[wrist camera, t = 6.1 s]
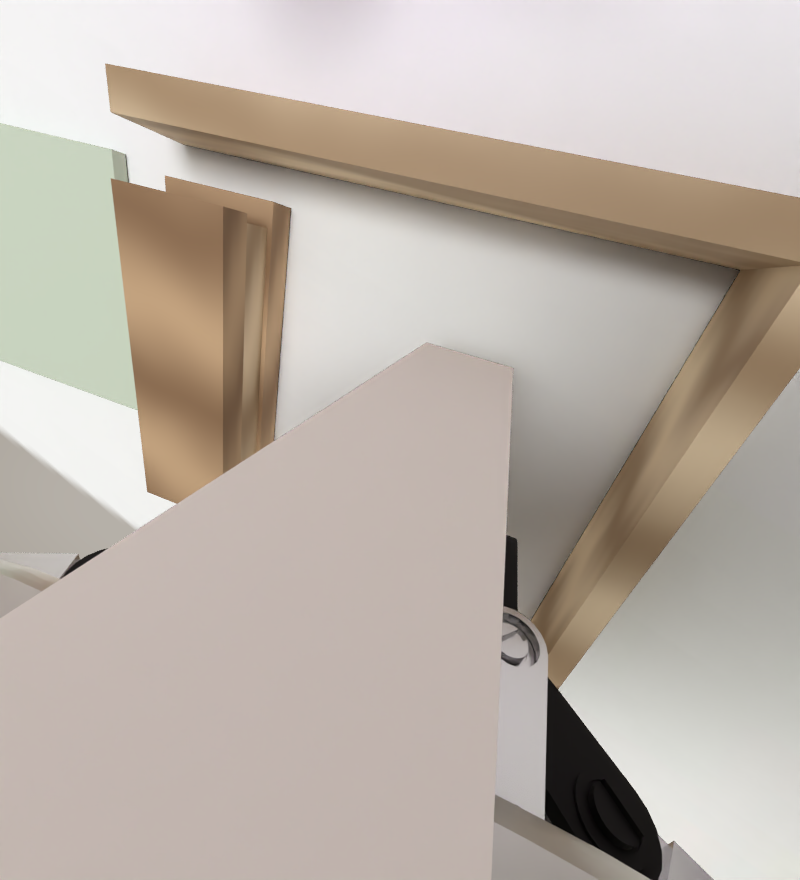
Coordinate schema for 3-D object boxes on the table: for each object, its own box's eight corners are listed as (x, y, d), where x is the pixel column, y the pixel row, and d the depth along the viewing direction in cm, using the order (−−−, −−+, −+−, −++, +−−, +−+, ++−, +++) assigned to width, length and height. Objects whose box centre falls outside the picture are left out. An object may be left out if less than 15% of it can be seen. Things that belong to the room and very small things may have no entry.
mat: (-82, 105, 17) (-101, 99, 16) (125, 154, 15) (111, 149, 15) (-9, 351, 22) (-22, 352, 22) (150, 408, 20) (141, 411, 20)
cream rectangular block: (426, 342, 12) (-214, 755, 1) (513, 368, 11) (475, 1272, 1) (380, 521, 16) (101, 1008, 5) (445, 546, 15) (282, 1144, 5)
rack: (182, 106, 14) (105, 63, 11) (810, 236, 11) (911, 219, 8) (198, 507, 23) (157, 536, 20) (542, 644, 19) (548, 701, 17)
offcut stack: (189, 183, 15) (103, 155, 12) (290, 208, 14) (228, 185, 11) (199, 476, 22) (146, 509, 18) (269, 503, 21) (226, 542, 18)
